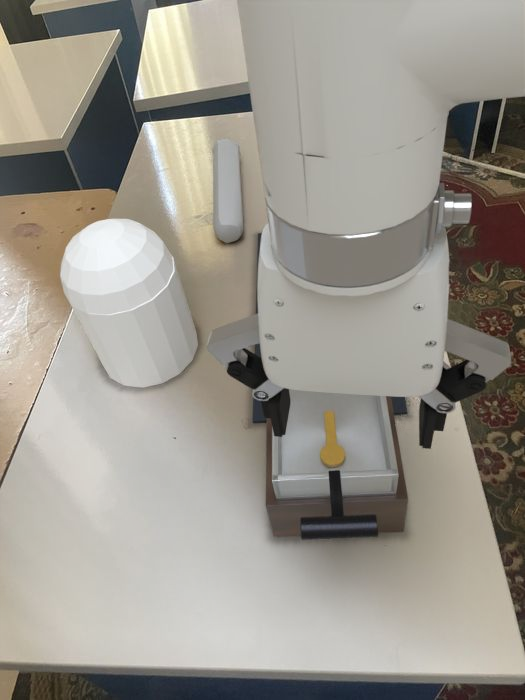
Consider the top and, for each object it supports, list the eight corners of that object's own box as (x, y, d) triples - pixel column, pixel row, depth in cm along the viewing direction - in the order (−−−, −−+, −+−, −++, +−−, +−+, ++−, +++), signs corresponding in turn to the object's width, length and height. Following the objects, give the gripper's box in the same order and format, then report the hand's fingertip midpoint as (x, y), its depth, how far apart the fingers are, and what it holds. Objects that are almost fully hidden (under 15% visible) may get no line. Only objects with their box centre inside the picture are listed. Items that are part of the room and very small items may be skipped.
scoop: (406, 559, 48) (411, 530, 43) (276, 564, 49) (268, 536, 45) (378, 382, 60) (380, 346, 56) (276, 389, 61) (269, 353, 57)
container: (92, 390, 74) (25, 275, 59) (111, 317, 82) (57, 200, 68) (193, 384, 72) (151, 264, 57) (202, 310, 81) (167, 189, 66)
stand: (403, 532, 57) (408, 499, 51) (273, 537, 58) (265, 506, 53) (385, 419, 65) (388, 382, 60) (273, 425, 67) (266, 389, 61)
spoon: (346, 467, 54) (346, 464, 53) (320, 468, 54) (320, 465, 53) (341, 412, 58) (341, 410, 57) (317, 414, 58) (317, 411, 57)
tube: (248, 224, 87) (243, 140, 103) (213, 219, 86) (213, 135, 102) (242, 251, 91) (238, 166, 107) (209, 247, 90) (209, 162, 106)
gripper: (540, 169, 27) (481, 388, 40) (191, 175, 30) (240, 374, 43) (567, 277, 22) (490, 486, 35) (150, 268, 26) (218, 461, 38)
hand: (351, 424), depth 39 cm, fingers open, 9 cm apart
